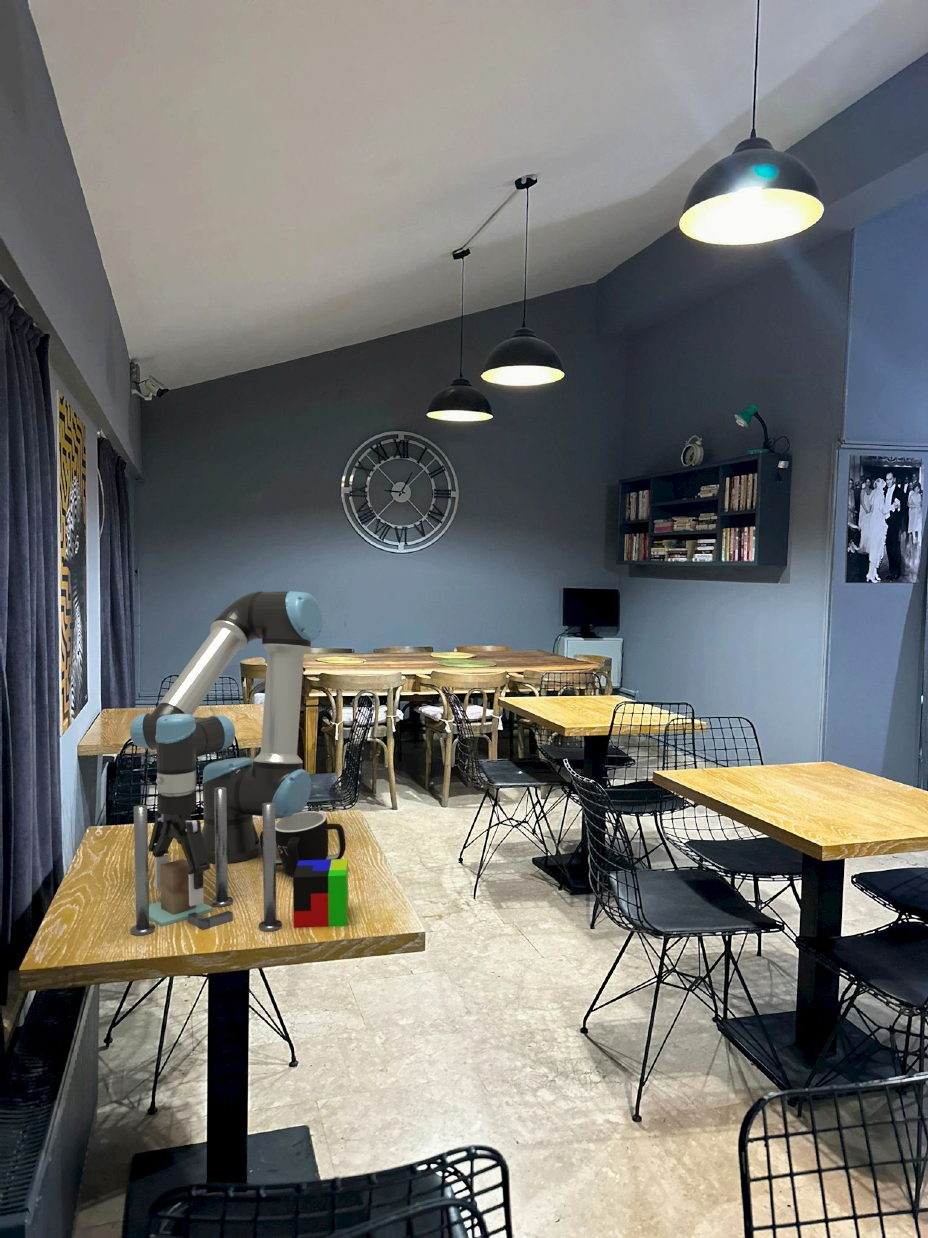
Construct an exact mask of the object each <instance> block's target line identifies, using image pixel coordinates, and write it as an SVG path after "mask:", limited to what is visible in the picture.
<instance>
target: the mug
mask: <svg viewBox="0 0 928 1238" xmlns="http://www.w3.org/2000/svg"><path fill="white" fill-rule="evenodd" d="M344 829H345V828H344V826H342V824H341V823H328V818H327V815H326V813H325V814H324V812H322V811H321V812H320V811H314V810H311V811H310V810H309V811H301V812H298V813H294V814H293V815H291V816H288V817H282V818H279V819H276V820H275V835H276V850H277V852H278V855H279V858H276V867H277V866H282V867H283V869H284V870H285V872H286V874H287V875H288V876H290V877H293V876H294V873H295V870H296V867H297V864H298V861H300V860H333V859H343V857H344V854H345V851H346V847H347V844H346V835H345V830H344ZM329 830H336V834H337V839H338V851H337V852H338V853H336V854H330V855H329ZM259 840H260V845H261V854H262V855H263V830H261V832H260V833H259Z"/></svg>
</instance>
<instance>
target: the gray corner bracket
mask: <svg viewBox="0 0 928 1238" xmlns="http://www.w3.org/2000/svg"><path fill="white" fill-rule="evenodd" d="M233 920H234V912H232V911H230V910H227V911H224V912H220V913H217V914H212V915H210V916H208V917H205V916H203V914H201V915H200V914H198V913H196V912H193V913H190V914H188V919H187V922H188V923H190V924H192V925H193V926H195V927H197V928H199V929H201V930H205V929H207V930H208V929H209V928H213V927H215V926H219V925H222V924H225V923H229V922H232V921H233Z"/></svg>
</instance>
